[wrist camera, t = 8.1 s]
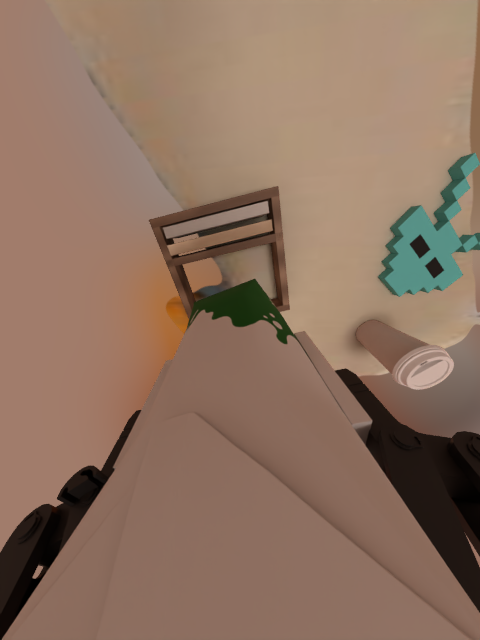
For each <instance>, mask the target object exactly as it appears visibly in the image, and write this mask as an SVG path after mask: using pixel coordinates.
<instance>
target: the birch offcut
mask: <svg viewBox="0 0 480 640" xmlns="http://www.w3.org/2000/svg"><path fill="white" fill-rule="evenodd" d="M269 231H273V228H272V219H271V220H267V221H263V222H259V223H255V224H251V225H247V226H243V227H239V228H235V229H231V230H227V231H223V232H219V233H215V234H211V235H207V236H203V237H199V238H195V239H191V240H188V241H183V242H180V243H175V244H171V245H167V247H168V249H169V252H170V255H171V256H173V255H177V254H180V253H185V252H189V251H193V250H197V249H201V248H205V247H209V246H213V245H217V244H221V243H225V242H229V241H233V240H237V239H241V238H245V237H249V236H253V235H257V234H261V233H265V232H269Z"/></svg>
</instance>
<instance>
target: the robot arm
mask: <svg viewBox="0 0 480 640" xmlns="http://www.w3.org/2000/svg"><path fill="white" fill-rule="evenodd" d="M294 336H295V337H296V339H297V340H298V342H299V344H300V345H301V347H302V348H303V350H304V351H305V353H306V355H307V356H308V358H309V359H310V361H311V363H312V364H313V366H314V367H315V369H316V370H317V372H318V374H319V375H320V377H321V378H322V380H323V382H324V383H325V385H326V386H327V388H328V390H329V391H330V393H331V394H332V396H333V398H334V399H335V401H336V402H337V404H338V405H339V407H340V409H341V410H342V412H343V413H344V415H345V416H346V418H347V419H348V421H349V422H350V424H351V425H352V427H353V428H354V429H355V431H356V432H357V434H358V435H359V437H360V438H361V440H362V441H363V443H364V444H365V446H366V447H367V449H368V450H369V452H370V453H371V455H372V456H373V457H374V459H375V460H376V462H377V463H378V465H379V466H380V468H381V469H382V471H383V472H384V474H385V475H386V477H387V478H388V480H389V481H390V482H391V484H392V485H393V487H394V488H395V490H396V491H397V493H398V494H399V496H400V497H401V499H402V500H403V502H404V503H405V505H406V506H407V507H408V509H409V510H410V512H411V513H412V515H413V516H414V518H415V519H416V521H417V522H418V524H419V525H420V527H421V528H422V530H423V531H424V532H425V534H426V535H427V537H428V538H429V540H430V541H431V543H432V544H433V546H434V547H435V549H436V550H437V552H438V553H439V555H440V556H441V557H442V559H443V560H444V562H445V563H446V565H447V566H448V568H449V569H450V571H451V572H452V574H453V575H454V576H455V578H456V579H457V581H458V582H459V584H460V585H461V587H462V588H463V589H464V591H465V592H466V594H467V595H468V597H469V598H470V600H471V601H472V602H473V604H474V605H475V607H476V608H477V610H478V611H479V613H480V567H479V565H478V563H477V560H476V558H475V556H474V553H473V551H472V549H471V546H470V544H469V542H468V539H467V537H468V538H469V540H470V542H471V543H472V545H473V546H474V548H475V550H476V551H477V553H478V554H479V556H480V435H479V434H476V433H472V432H466V431H463V432H457V433H456V434H455V435H454V436H453V437H452V438H447V437H440V436H433V435H426V434H422V433H418V432H415V431H414V430H412V429H411V428H409V427H408V426H406V425H403V424H401V423H399V422H398V421H397V420H396V419H395V418H394V417H393V416H392V415H391V414H390V413H389V411H388V410H387V409H386V408H385V407H384V406H383V405H382V403H381V402H380V401H379V400H378V399H377V398H376V397H375V396H374V394H372V392H371V391H369V389H368V388H367V387H366V386H365V384H363V382H362V381H361V380H360V379H359V378H358V376H357V375H356V374H354V373H353V372H351V371H349V370H348V369H341V370H336V371H334V369H333V368H332V367H331V365H330V364H329V363H328V361H327V360H326V359H325V358H324V356H323V355H322V354H321V352H320V351H319V350H318V348H317V347H316V346H315V344H314V343H313V342H312V340H311V339H310V338H309V336H308V335H307V334H306V332H305V331H303V332H299V333H294ZM172 361H173V360H168V361H166V362H165V364H164V366H163V368H162V370H161V372H160V374H159V376H158V378H157V380H156V382H155V384H154V387H153V389H152V390H151V392H150V394H149V396H148V398H147V400H146V402H145V404H144V406H143V408H142V410H138V411H136V412H135V413H134V414H133V415H132V417H131V418H130V419H129V420H128V422H127V424H126V426H125V428H124V431H122V433H121V435H120V437H119V439H118V440H117V442H116V444H115V446H114V448H113V450H112V452H111V453H110V455H109V457H108V459H107V461H106V463H105V465H104V467H103V468H102V470H101V471H100V470H99V469H97V468H96V467H95V466H87V467H85V468H82V469H81V470H80V471H78V472H77V473H76V474H74V475H73V476H72V477H71V478H70V479H69V480H68V481H67V483H66V484H65V485H64V487H63V488H62V489H61V491H60V493H59V495H58V497H57V499H58V500H60V501H61V502H63V504H61V505H59V506H57V507H54V506H52V505H50V504H44V505H41V506H40V507H38V508H36V509H35V510H33V511H32V512H31V513H30V514H29V515H28V516H26V517H25V519H24V520H23V521H22V522H21V523H20V524H19V525H18V526H17V528H16V529H15V531H14V532H13V533H12V535H11V536H10V538H9V539H8V541H7V542H6V544H5V546H4V547H3V549H2V551H1V552H0V640H2V638H3V637H4V635H5V634H6V632H7V631H8V629H9V628H10V626H11V625H12V623H13V622H14V620H15V619H16V617H17V616H18V614H19V613H20V611H21V610H22V608H23V607H24V605H25V604H26V602H27V601H28V599H29V598H30V596H31V595H32V593H33V592H34V590H35V589H36V587H37V586H38V584H39V583H40V581H41V580H42V578H43V577H44V575H45V574H46V572H47V571H48V569H49V568H50V566H51V565H52V563H53V562H54V560H55V559H56V557H57V556H58V554H59V553H60V551H61V550H62V548H63V547H64V545H65V544H66V542H67V541H68V539H69V538H70V537H71V535H72V534H73V532H74V531H75V529H76V528H77V526H78V525H79V523H80V522H81V520H82V519H83V517H84V515H85V514H86V512H87V511H88V509H89V508H90V506H91V505H92V503H93V502H94V500H95V499H96V497H97V496H98V494H99V493H100V491H101V490H102V488H103V487H104V485H105V484H106V482H107V481H108V479H109V478H110V476H111V475H112V473H113V472H114V470H115V469H116V467H117V466H118V464H119V463H120V461H121V460H122V458H123V457H124V455H125V454H126V452H127V451H128V449H129V448H130V446H131V445H132V443H133V442H134V440H135V439H136V437H137V435H138V434H139V432H140V430H141V428H142V427H143V425H144V423H145V420H146V418H147V416H148V414H149V412H150V410H151V407H152V405H153V403H154V401H155V399H156V396H157V394H158V392H159V390H160V387H161V385H162V383H163V381H164V379H165V376H166V374H167V372H168V370H169V367H170V365H171V363H172ZM465 534H466V535H467V537H466V535H465ZM38 565H40V566H43V569H42V571H41V573H40V574H39V576H38V577H37V578H36V579H33V578H32V577H33V575H34V573H35V570H36V568H37V566H38Z"/></svg>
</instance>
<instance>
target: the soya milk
mask: <svg viewBox="0 0 480 640" xmlns="http://www.w3.org/2000/svg"><path fill="white" fill-rule="evenodd" d="M2 640H480V613H479V611H478V610H477V608H476V607H475V605H474V604H473V602H472V601H471V600H470V598H469V597H468V595H467V594H466V592H465V591H464V589H463V588H462V587H461V585H460V584H459V582H458V581H457V579H456V578H455V576H454V575H453V574H452V572H451V571H450V569H449V568H448V566H447V565H446V563H445V562H444V560H443V559H442V557H441V556H440V555H439V553H438V552H437V550H436V549H435V547H434V546H433V544H432V543H431V541H430V540H429V538H428V537H427V535H426V534H425V532H424V531H423V530H422V528H421V527H420V525H419V524H418V522H417V521H416V519H415V518H414V516H413V515H412V513H411V512H410V510H409V509H408V507H407V506H406V505H405V503H404V502H403V500H402V499H401V497H400V496H399V494H398V493H397V491H396V490H395V488H394V487H393V485H392V484H391V482H390V481H389V480H388V478H387V477H386V475H385V474H384V472H383V471H382V469H381V468H380V466H379V465H378V463H377V462H376V460H375V459H374V457H373V456H372V455H371V453H370V452H369V450H368V449H367V447H366V446H365V444H364V443H363V441H362V440H361V438H360V437H359V435H358V434H357V432H356V431H355V429H354V428H353V427H352V425H351V424H350V422H349V421H348V419H347V418H346V416H345V415H344V413H343V412H342V410H341V409H340V407H339V405H338V404H337V402H336V401H335V399H334V398H333V396H332V394H331V393H330V391H329V390H328V388H327V386H326V385H325V383H324V382H323V380H322V378H321V377H320V375H319V374H318V372H317V370H316V369H315V367H314V366H313V364H312V363H311V361H310V359H309V358H308V356H307V355H306V353H305V351H304V350H303V348H302V347H301V345H300V344H299V342H298V340H297V339H296V337H295V336H294V334H293V333H292V331H291V329H290V328H289V326H288V325H287V323H286V321H285V320H284V318H283V317H282V315H281V314H280V312H279V311H278V309H277V308H276V306H275V305H274V304H273V302H272V301H271V300H270V298H269V297H268V296H267V294H266V293H265V292H264V290H263V289H262V288H261V286H260V285H259V284H258V283H257V281H256V280H255V279H253V280H250V281H248V282H245V283H243V284H240V285H237V286H235V287H232V288H230V289H227V290H225V291H222V292H220V293H217V294H214V295H212V296H209V297H207V298H204V299H202V300H199V301H197V302H194V305H193V308H192V312H191V315H190V319H189V323H188V326H187V329H186V332H185V334H184V336H183V338H182V341H181V343H180V345H179V347H178V350H177V352H176V354H175V356H174V359H173V361H172V363H171V365H170V367H169V370H168V372H167V374H166V376H165V379H164V381H163V383H162V385H161V387H160V390H159V392H158V394H157V396H156V399H155V401H154V403H153V405H152V407H151V410H150V412H149V414H148V416H147V418H146V420H145V423H144V425H143V427H142V428H141V430H140V432H139V434H138V435H137V437H136V439H135V440H134V442H133V443H132V445H131V446H130V448H129V449H128V451H127V452H126V454H125V455H124V457H123V458H122V460H121V461H120V463H119V464H118V466H117V467H116V469H115V470H114V472H113V473H112V475H111V476H110V478H109V479H108V481H107V482H106V484H105V485H104V487H103V488H102V490H101V491H100V493H99V494H98V496H97V497H96V499H95V500H94V502H93V503H92V505H91V506H90V508H89V509H88V511H87V512H86V514H85V515H84V517H83V519H82V520H81V522H80V523H79V525H78V526H77V528H76V529H75V531H74V532H73V534H72V535H71V537H70V538H69V539H68V541H67V542H66V544H65V545H64V547H63V548H62V550H61V551H60V553H59V554H58V556H57V557H56V559H55V560H54V562H53V563H52V565H51V566H50V568H49V569H48V571H47V572H46V574H45V575H44V577H43V578H42V580H41V581H40V583H39V584H38V586H37V587H36V589H35V590H34V592H33V593H32V595H31V596H30V598H29V599H28V601H27V602H26V604H25V605H24V607H23V608H22V610H21V611H20V613H19V614H18V616H17V617H16V619H15V620H14V622H13V623H12V625H11V626H10V628H9V629H8V631H7V632H6V634H5V635H4V637H3V638H2Z"/></svg>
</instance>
